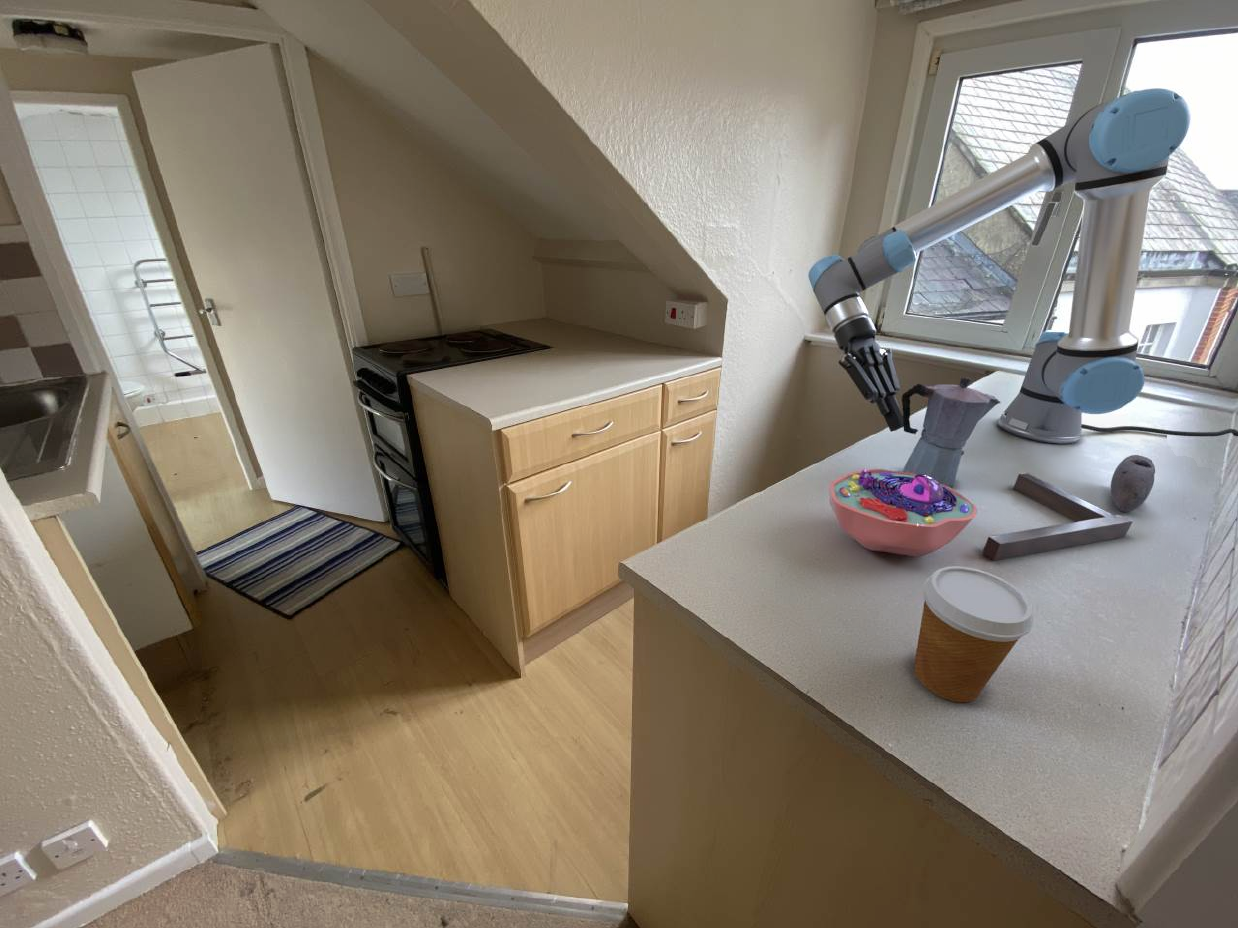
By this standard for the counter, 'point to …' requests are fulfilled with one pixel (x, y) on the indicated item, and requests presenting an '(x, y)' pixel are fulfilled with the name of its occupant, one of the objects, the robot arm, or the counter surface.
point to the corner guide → (1085, 530)
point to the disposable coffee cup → (967, 630)
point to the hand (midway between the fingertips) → (898, 428)
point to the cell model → (899, 511)
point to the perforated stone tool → (1132, 482)
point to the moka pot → (944, 427)
